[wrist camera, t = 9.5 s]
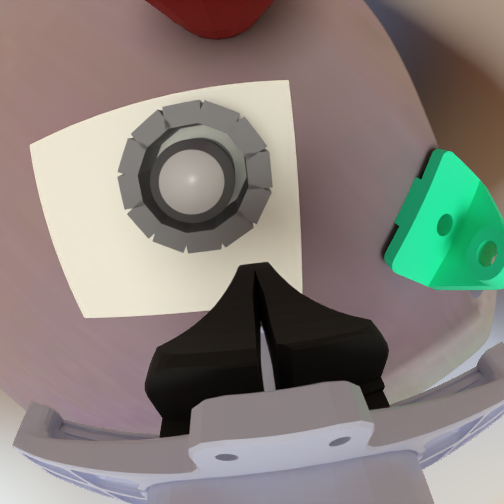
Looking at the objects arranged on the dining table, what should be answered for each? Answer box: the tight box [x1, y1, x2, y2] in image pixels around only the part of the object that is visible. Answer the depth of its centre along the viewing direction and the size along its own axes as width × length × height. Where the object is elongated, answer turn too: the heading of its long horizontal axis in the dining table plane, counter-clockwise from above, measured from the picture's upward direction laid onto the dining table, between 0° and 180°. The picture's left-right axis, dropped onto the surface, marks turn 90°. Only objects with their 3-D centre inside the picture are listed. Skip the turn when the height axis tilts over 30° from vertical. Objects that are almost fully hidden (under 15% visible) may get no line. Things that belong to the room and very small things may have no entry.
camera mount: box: [384, 149, 504, 290], centre depth 17 cm, size 12×8×10 cm, turn 159°
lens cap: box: [150, 137, 235, 223], centre depth 17 cm, size 5×5×4 cm
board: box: [30, 80, 302, 318], centre depth 19 cm, size 18×22×4 cm
